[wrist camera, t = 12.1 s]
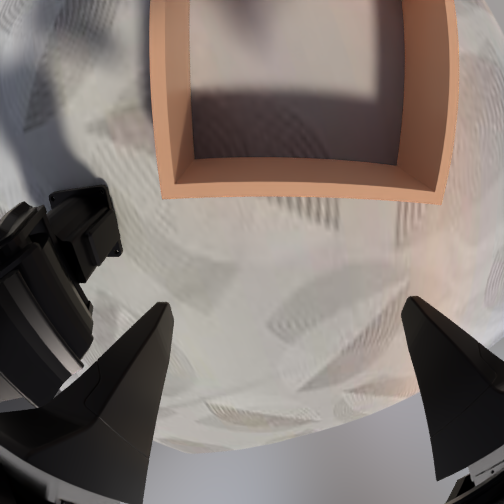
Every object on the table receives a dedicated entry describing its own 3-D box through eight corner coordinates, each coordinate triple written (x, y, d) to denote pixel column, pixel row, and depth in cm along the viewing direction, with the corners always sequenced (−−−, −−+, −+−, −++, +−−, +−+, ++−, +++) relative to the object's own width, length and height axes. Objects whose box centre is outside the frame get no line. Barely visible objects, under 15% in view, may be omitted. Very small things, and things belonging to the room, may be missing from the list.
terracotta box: (184, 170, 19) (162, 199, 14) (179, -37, 10) (157, -69, 5) (403, 176, 19) (441, 204, 14) (408, -15, 10) (447, -32, 5)
